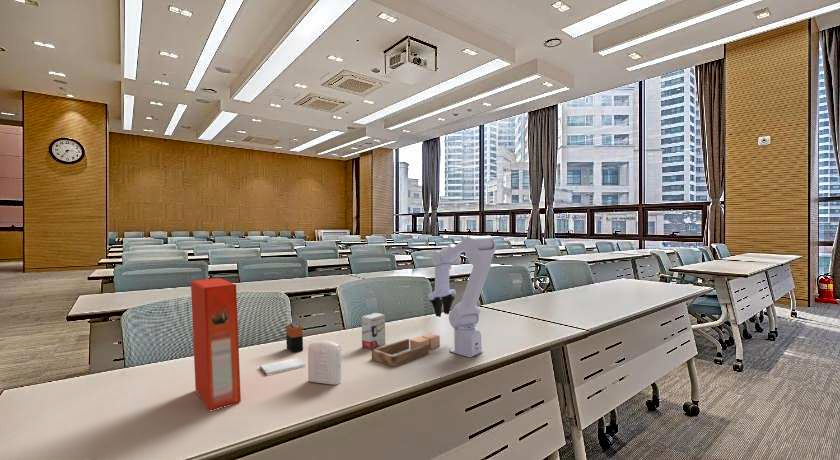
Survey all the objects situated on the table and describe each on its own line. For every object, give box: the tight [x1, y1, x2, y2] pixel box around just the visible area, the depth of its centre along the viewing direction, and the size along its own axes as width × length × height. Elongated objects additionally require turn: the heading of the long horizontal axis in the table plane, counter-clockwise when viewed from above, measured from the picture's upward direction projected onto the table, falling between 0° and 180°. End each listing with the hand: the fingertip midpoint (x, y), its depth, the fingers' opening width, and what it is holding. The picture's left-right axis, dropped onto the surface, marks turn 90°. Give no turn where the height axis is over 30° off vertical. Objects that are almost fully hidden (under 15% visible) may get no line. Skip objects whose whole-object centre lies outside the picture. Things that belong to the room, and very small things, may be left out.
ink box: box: [361, 312, 386, 350], centre depth 154 cm, size 9×5×12 cm, turn 143°
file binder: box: [190, 277, 242, 412], centre depth 110 cm, size 8×17×32 cm, turn 39°
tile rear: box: [420, 333, 441, 350], centre depth 152 cm, size 5×5×4 cm
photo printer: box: [307, 340, 342, 386], centre depth 120 cm, size 10×4×12 cm, turn 72°
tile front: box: [409, 336, 429, 350], centre depth 148 cm, size 5×5×4 cm
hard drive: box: [259, 357, 306, 376], centre depth 132 cm, size 2×8×12 cm
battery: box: [285, 321, 304, 353], centre depth 150 cm, size 4×7×10 cm, turn 35°
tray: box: [371, 338, 430, 368], centre depth 141 cm, size 11×17×3 cm, turn 136°
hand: (442, 315), depth 157 cm, fingers open, 4 cm apart
